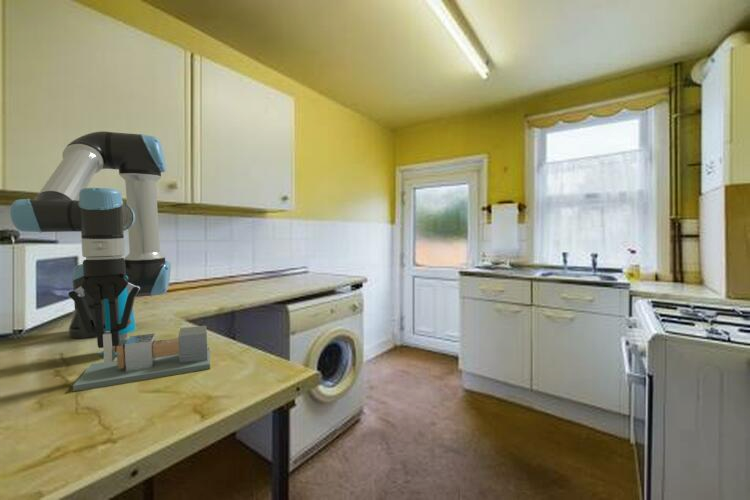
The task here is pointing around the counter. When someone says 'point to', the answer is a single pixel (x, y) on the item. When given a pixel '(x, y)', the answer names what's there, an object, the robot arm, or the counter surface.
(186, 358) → the socket
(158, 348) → the bolt
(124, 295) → the security camera
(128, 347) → the sleeve
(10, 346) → the counter surface
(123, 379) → the board
